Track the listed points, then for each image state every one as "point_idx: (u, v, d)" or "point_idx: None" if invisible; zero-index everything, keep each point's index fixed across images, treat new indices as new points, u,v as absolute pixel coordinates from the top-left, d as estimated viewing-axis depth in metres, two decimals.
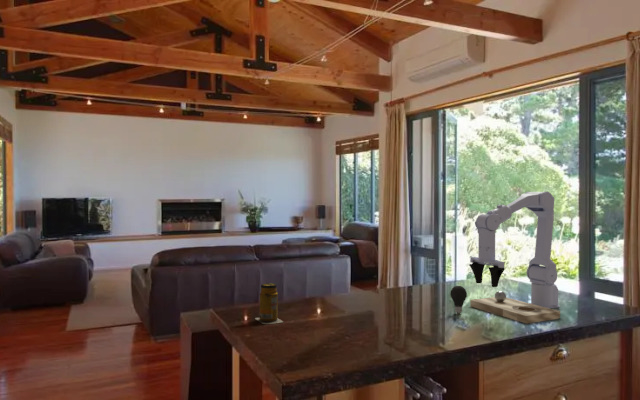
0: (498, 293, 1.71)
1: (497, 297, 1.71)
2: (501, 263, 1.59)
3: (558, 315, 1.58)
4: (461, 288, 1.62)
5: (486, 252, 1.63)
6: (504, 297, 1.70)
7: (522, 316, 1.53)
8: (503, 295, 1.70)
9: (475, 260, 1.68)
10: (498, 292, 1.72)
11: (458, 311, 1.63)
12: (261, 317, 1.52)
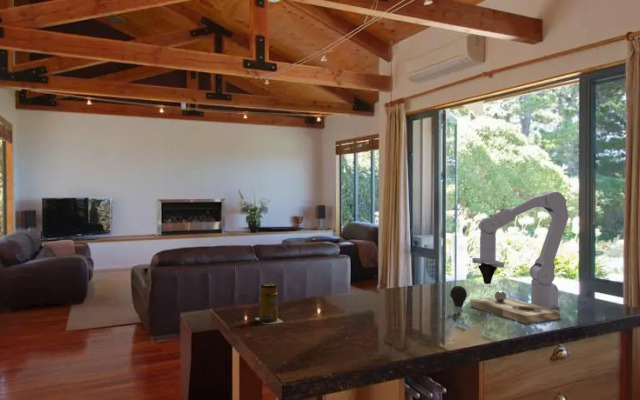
0: (498, 293, 1.71)
1: (497, 297, 1.71)
2: (501, 263, 1.71)
3: (558, 315, 1.58)
4: (461, 288, 1.62)
5: (487, 253, 1.75)
6: (504, 297, 1.70)
7: (522, 316, 1.53)
8: (503, 295, 1.70)
9: (477, 260, 1.80)
10: (498, 292, 1.72)
11: (458, 311, 1.63)
12: (261, 317, 1.52)
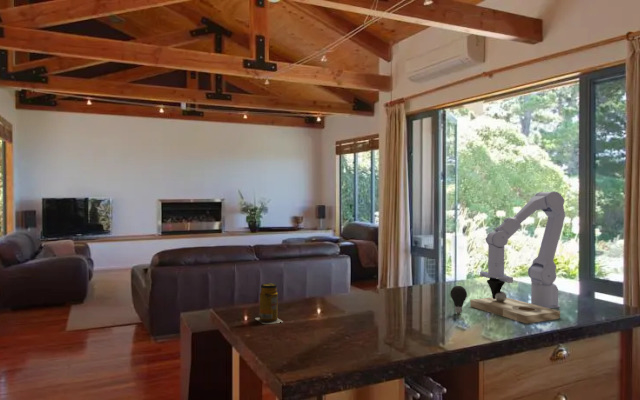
0: (499, 294, 1.71)
1: (497, 297, 1.71)
2: (510, 278, 1.67)
3: (558, 315, 1.58)
4: (461, 288, 1.62)
5: (495, 267, 1.71)
6: (504, 298, 1.70)
7: (522, 316, 1.53)
8: (504, 296, 1.70)
9: (485, 275, 1.76)
10: (499, 293, 1.71)
11: (458, 311, 1.63)
12: (261, 317, 1.52)
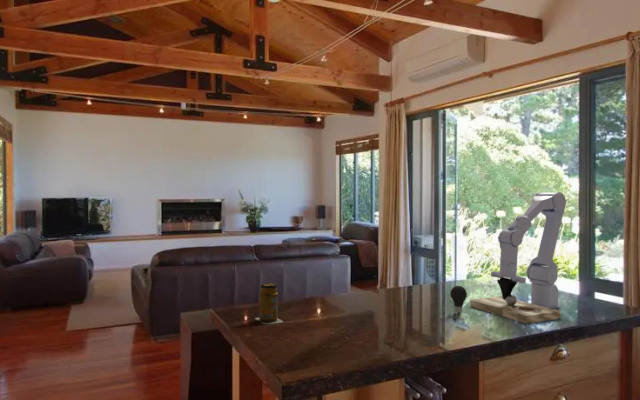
0: None
1: (505, 298, 1.67)
2: (522, 279, 1.61)
3: (558, 315, 1.58)
4: (461, 288, 1.62)
5: (508, 267, 1.65)
6: None
7: (522, 316, 1.53)
8: None
9: (496, 274, 1.70)
10: (507, 303, 1.66)
11: (458, 311, 1.63)
12: (261, 317, 1.52)
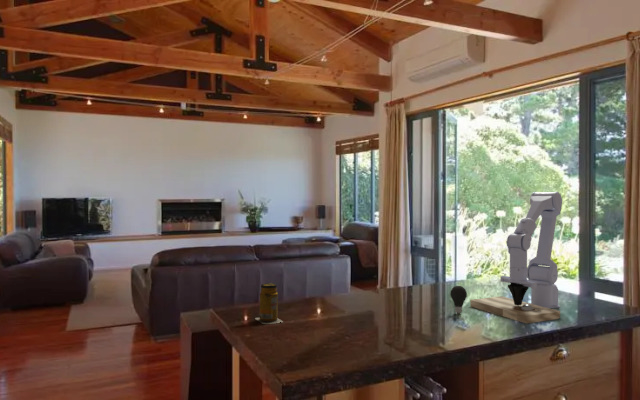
0: None
1: (523, 306, 1.61)
2: (534, 284, 1.58)
3: (558, 315, 1.58)
4: (461, 288, 1.62)
5: (518, 272, 1.62)
6: (529, 305, 1.62)
7: (522, 316, 1.53)
8: None
9: (506, 279, 1.67)
10: (522, 306, 1.63)
11: (458, 311, 1.63)
12: (261, 317, 1.52)
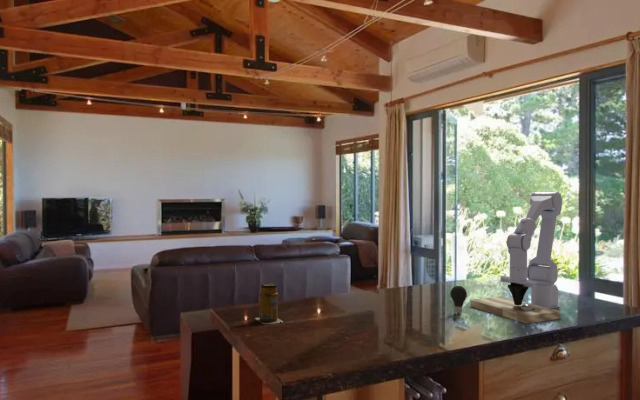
0: None
1: (522, 307, 1.61)
2: (534, 284, 1.58)
3: (558, 315, 1.58)
4: (461, 288, 1.62)
5: (518, 272, 1.62)
6: (528, 305, 1.62)
7: (522, 316, 1.53)
8: (526, 304, 1.62)
9: (506, 279, 1.67)
10: None
11: (458, 311, 1.63)
12: (261, 317, 1.52)
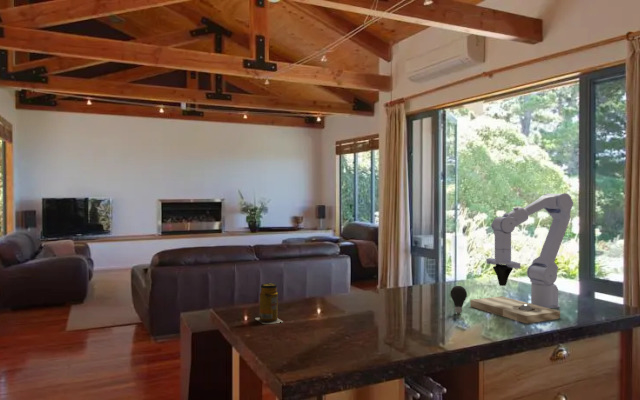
0: None
1: (521, 307, 1.61)
2: (517, 264, 1.64)
3: (558, 315, 1.58)
4: (461, 288, 1.62)
5: (502, 253, 1.68)
6: None
7: (522, 316, 1.53)
8: (524, 304, 1.62)
9: (491, 261, 1.74)
10: None
11: (458, 311, 1.63)
12: (261, 317, 1.52)
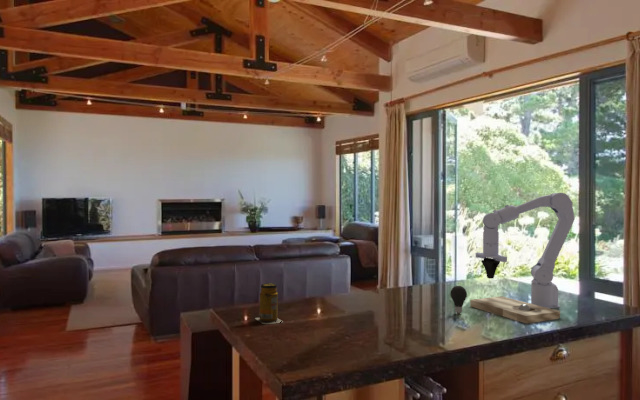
0: None
1: (519, 308, 1.62)
2: (504, 258, 1.74)
3: (558, 315, 1.58)
4: (461, 288, 1.62)
5: (490, 248, 1.78)
6: (524, 304, 1.62)
7: (522, 316, 1.53)
8: (522, 304, 1.63)
9: (480, 255, 1.83)
10: (519, 308, 1.63)
11: (458, 311, 1.63)
12: (261, 317, 1.52)
